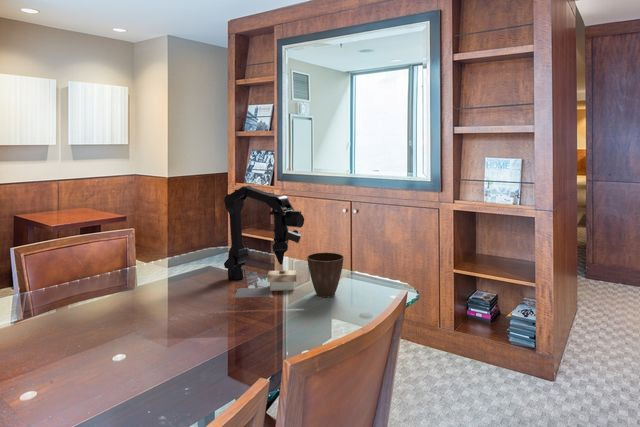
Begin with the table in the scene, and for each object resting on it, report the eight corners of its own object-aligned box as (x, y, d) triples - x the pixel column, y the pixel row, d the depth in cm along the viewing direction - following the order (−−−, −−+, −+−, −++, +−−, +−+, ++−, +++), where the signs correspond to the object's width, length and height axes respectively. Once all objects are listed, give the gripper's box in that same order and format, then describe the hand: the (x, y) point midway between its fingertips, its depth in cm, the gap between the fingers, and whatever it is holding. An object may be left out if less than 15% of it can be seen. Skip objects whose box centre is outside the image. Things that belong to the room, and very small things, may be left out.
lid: (267, 282, 200) (267, 273, 199) (268, 277, 207) (268, 269, 206) (296, 281, 200) (296, 273, 200) (296, 277, 207) (296, 268, 206)
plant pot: (309, 288, 204) (309, 252, 201) (344, 289, 202) (344, 252, 200) (305, 300, 189) (304, 260, 187) (342, 300, 188) (342, 261, 185)
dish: (270, 291, 200) (270, 282, 199) (271, 286, 208) (271, 277, 207) (294, 291, 200) (294, 282, 200) (294, 285, 208) (294, 276, 207)
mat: (234, 299, 191) (234, 297, 191) (238, 289, 203) (237, 288, 203) (269, 298, 192) (269, 296, 192) (270, 289, 204) (270, 287, 204)
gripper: (299, 229, 191) (300, 267, 194) (299, 221, 210) (300, 255, 212) (271, 229, 191) (272, 267, 193) (274, 221, 209) (275, 256, 212)
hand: (281, 261), depth 202 cm, fingers open, 9 cm apart
